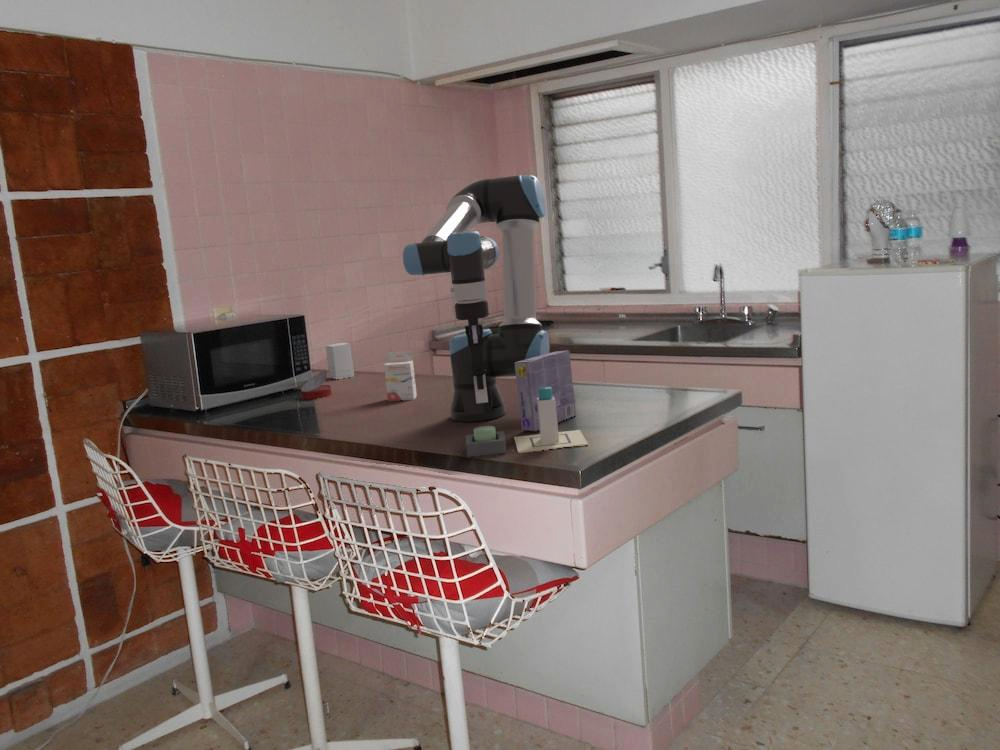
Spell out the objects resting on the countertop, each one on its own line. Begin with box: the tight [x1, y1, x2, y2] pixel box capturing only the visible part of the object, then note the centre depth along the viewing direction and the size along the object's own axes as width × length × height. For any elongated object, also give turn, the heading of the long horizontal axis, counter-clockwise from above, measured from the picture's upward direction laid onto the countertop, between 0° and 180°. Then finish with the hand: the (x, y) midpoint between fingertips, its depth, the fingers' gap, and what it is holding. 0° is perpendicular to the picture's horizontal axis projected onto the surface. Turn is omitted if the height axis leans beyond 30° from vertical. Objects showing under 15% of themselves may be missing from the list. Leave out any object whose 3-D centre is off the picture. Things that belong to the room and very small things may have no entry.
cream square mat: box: [513, 429, 589, 454], centre depth 209 cm, size 14×16×1 cm
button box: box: [465, 430, 508, 458], centre depth 207 cm, size 9×9×3 cm
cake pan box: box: [515, 349, 577, 433], centre depth 226 cm, size 19×5×18 cm, turn 141°
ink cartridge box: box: [383, 350, 417, 402], centre depth 279 cm, size 9×5×15 cm, turn 84°
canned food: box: [300, 370, 333, 400], centre depth 299 cm, size 11×10×10 cm
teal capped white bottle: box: [537, 387, 559, 443], centre depth 208 cm, size 4×4×12 cm
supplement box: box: [325, 342, 355, 381], centre depth 333 cm, size 7×7×13 cm
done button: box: [473, 425, 497, 442], centre depth 207 cm, size 5×5×4 cm
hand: (482, 402), depth 206 cm, fingers closed
